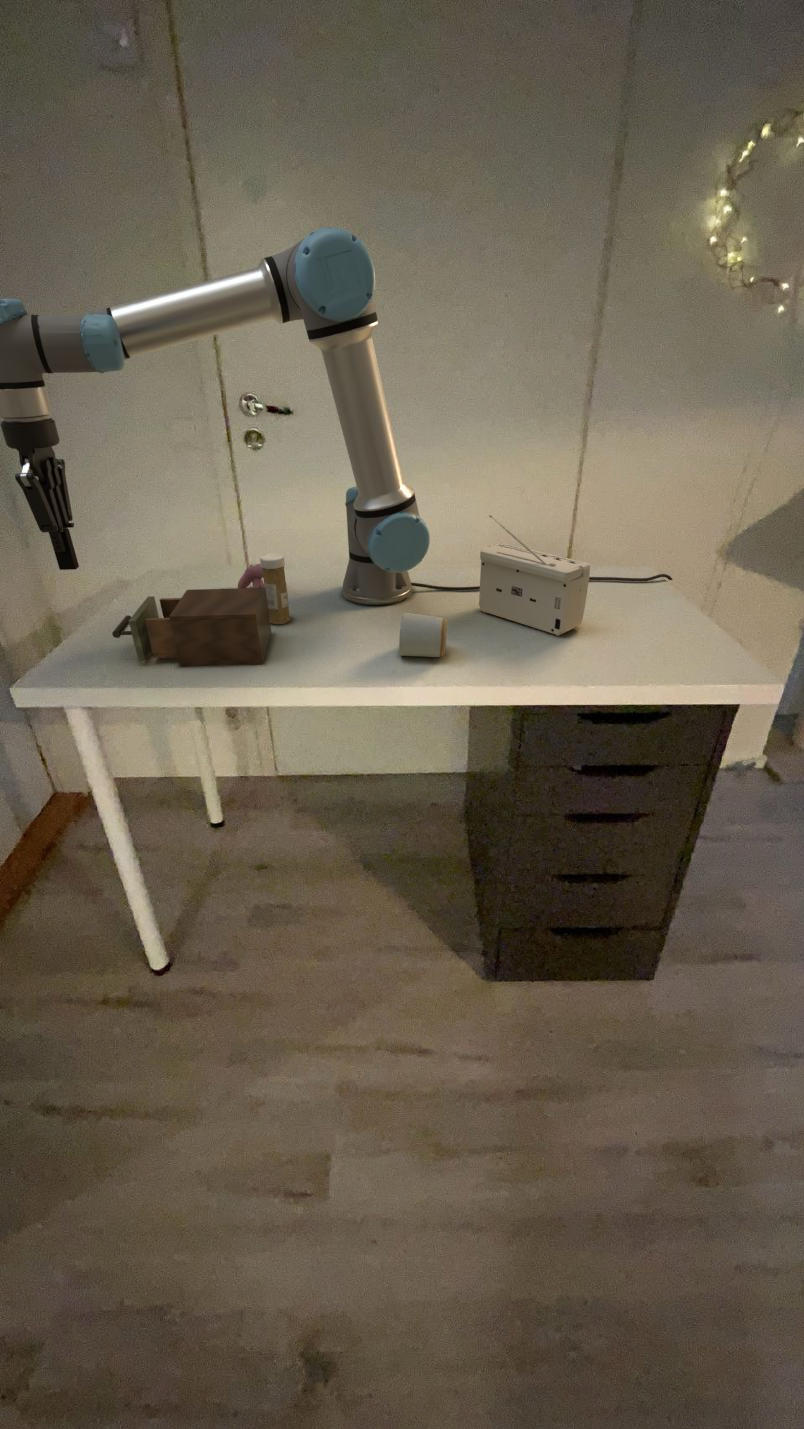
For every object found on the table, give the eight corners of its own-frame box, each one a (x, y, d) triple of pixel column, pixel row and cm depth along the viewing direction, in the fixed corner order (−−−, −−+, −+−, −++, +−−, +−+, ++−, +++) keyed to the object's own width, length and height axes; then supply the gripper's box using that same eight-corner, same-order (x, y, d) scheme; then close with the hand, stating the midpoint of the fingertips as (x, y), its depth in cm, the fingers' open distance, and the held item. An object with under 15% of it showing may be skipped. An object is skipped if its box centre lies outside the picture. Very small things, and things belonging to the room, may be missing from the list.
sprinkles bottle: (294, 621, 132) (287, 556, 125) (273, 627, 130) (265, 561, 123) (284, 614, 135) (277, 550, 128) (264, 619, 133) (255, 555, 126)
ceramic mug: (444, 664, 115) (445, 624, 111) (398, 662, 116) (398, 622, 112) (447, 640, 124) (449, 601, 120) (405, 638, 125) (404, 600, 121)
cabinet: (179, 666, 116) (169, 616, 110) (195, 636, 126) (186, 589, 121) (262, 664, 116) (255, 613, 111) (271, 634, 127) (265, 587, 122)
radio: (583, 627, 128) (598, 525, 117) (561, 640, 123) (575, 534, 112) (496, 601, 140) (503, 506, 130) (473, 612, 135) (477, 514, 124)
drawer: (114, 662, 115) (102, 621, 111) (133, 635, 125) (124, 597, 121) (215, 659, 116) (208, 618, 112) (227, 632, 125) (221, 594, 121)
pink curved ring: (281, 600, 146) (287, 569, 145) (267, 597, 142) (274, 565, 141) (248, 592, 150) (254, 562, 149) (234, 589, 146) (240, 558, 145)
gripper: (21, 413, 105) (62, 556, 117) (-21, 425, 94) (30, 582, 106) (68, 412, 105) (104, 555, 118) (32, 424, 94) (77, 580, 106)
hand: (69, 568), depth 112 cm, fingers closed
